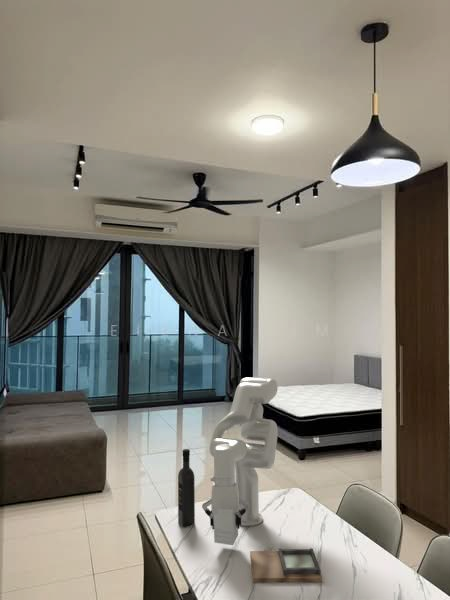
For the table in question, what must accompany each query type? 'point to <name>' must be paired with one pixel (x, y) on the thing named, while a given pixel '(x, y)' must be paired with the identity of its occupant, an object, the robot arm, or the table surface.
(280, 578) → the board
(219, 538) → the supplement box
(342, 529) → the table surface
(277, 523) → the table surface
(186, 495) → the wine bottle
